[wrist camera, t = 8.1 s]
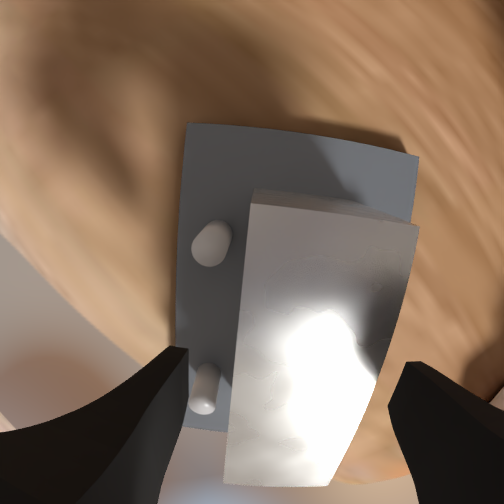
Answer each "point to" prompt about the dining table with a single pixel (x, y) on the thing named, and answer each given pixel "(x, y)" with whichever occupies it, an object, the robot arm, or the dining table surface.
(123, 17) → the dining table surface
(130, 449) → the robot arm
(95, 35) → the dining table surface
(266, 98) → the dining table surface
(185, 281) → the pin tray
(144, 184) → the dining table surface
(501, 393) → the bust
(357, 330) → the block
